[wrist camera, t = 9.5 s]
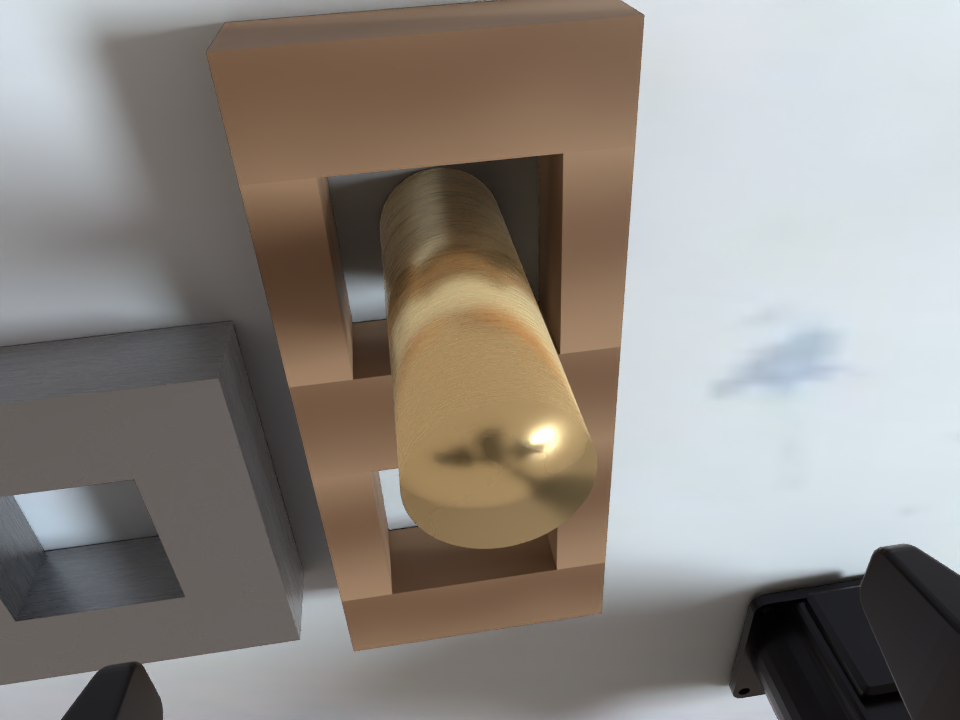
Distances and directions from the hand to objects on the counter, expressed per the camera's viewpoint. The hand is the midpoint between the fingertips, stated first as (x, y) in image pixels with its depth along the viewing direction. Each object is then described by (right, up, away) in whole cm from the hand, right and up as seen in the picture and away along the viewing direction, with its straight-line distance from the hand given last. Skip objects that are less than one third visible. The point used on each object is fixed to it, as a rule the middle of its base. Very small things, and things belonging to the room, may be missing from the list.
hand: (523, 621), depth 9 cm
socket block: (-12, 0, +13) cm, 17 cm away
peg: (-2, +6, +9) cm, 12 cm away
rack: (-1, +3, +12) cm, 12 cm away
